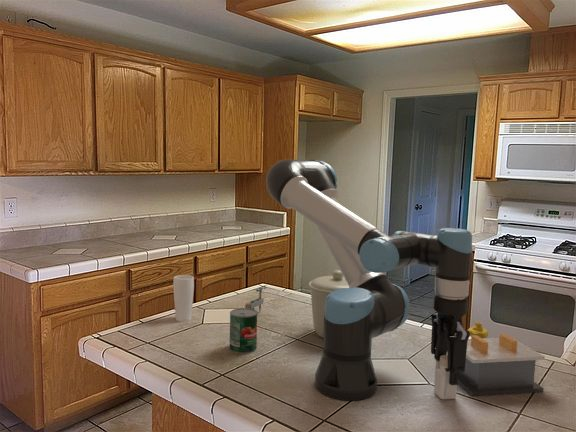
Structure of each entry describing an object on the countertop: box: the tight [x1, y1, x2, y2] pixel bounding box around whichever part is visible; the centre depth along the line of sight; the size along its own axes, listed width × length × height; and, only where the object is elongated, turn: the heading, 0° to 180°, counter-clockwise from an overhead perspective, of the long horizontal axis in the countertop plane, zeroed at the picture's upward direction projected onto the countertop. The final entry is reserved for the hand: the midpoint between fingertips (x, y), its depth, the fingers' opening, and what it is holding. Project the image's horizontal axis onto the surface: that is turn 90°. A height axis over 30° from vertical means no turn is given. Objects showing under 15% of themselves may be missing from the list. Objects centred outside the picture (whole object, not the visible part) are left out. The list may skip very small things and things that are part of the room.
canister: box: [308, 269, 349, 339], centre depth 150 cm, size 18×18×21 cm
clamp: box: [244, 286, 267, 313], centre depth 168 cm, size 15×2×10 cm, turn 160°
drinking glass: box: [172, 274, 195, 323], centre depth 161 cm, size 7×7×15 cm
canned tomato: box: [229, 307, 258, 354], centre depth 138 cm, size 8×8×11 cm
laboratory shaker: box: [457, 333, 546, 397], centre depth 121 cm, size 19×14×11 cm
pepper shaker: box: [433, 355, 457, 400], centre depth 112 cm, size 4×4×10 cm
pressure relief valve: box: [467, 321, 489, 338], centre depth 134 cm, size 6×12×10 cm, turn 51°
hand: (445, 391), depth 113 cm, fingers closed on pepper shaker, 4 cm apart
